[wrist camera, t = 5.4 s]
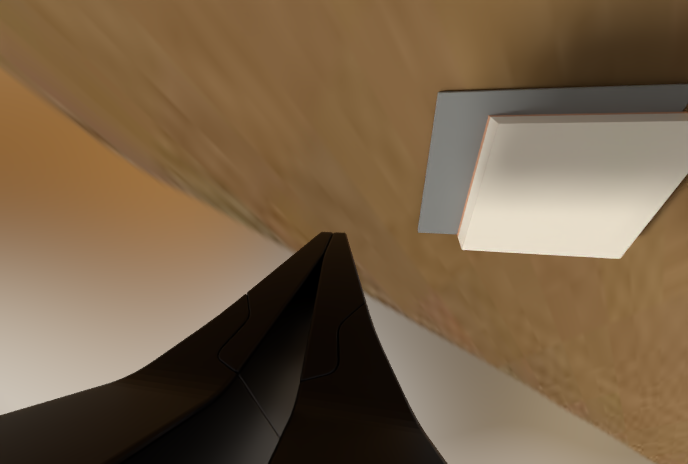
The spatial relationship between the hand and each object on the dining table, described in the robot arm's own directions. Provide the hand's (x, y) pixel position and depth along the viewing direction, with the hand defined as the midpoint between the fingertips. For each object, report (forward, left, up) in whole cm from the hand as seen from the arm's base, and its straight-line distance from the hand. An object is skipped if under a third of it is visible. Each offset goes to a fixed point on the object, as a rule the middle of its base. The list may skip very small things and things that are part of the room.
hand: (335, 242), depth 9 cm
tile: (-6, +1, -6) cm, 9 cm away
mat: (-9, +1, -8) cm, 12 cm away
